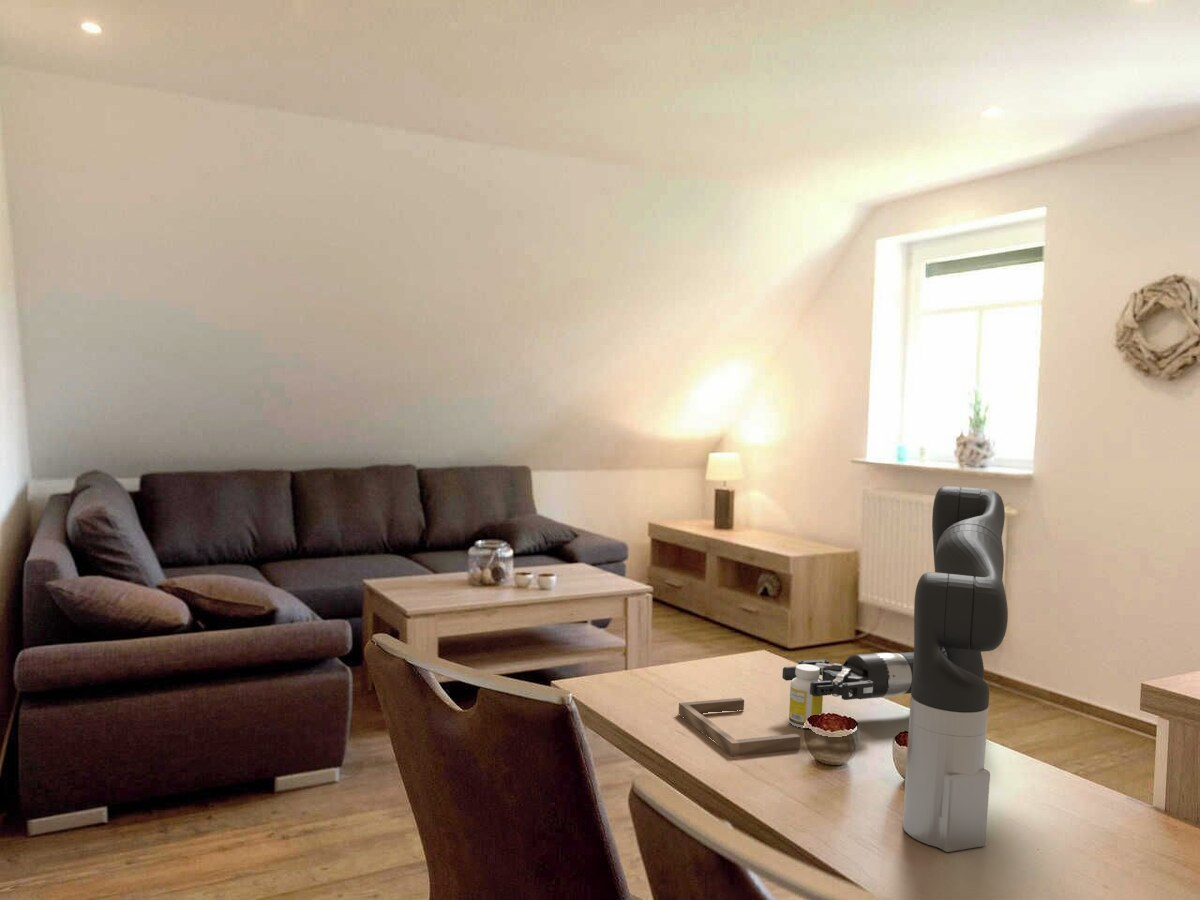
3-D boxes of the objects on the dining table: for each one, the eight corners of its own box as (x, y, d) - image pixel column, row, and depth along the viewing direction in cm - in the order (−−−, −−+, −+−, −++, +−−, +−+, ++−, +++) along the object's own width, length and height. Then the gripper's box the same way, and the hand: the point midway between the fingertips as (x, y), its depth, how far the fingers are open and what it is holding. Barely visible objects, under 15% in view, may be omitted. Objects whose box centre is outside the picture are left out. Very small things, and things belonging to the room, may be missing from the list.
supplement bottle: (818, 720, 158) (822, 664, 158) (823, 731, 153) (826, 673, 152) (786, 717, 159) (790, 661, 158) (790, 728, 153) (793, 670, 153)
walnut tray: (799, 749, 144) (800, 736, 144) (731, 756, 140) (732, 743, 140) (740, 709, 162) (740, 697, 162) (678, 714, 158) (679, 702, 158)
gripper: (853, 643, 167) (775, 648, 161) (905, 665, 153) (822, 671, 148) (851, 683, 167) (773, 690, 162) (902, 709, 154) (820, 717, 148)
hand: (797, 681), depth 155 cm, fingers open, 8 cm apart
